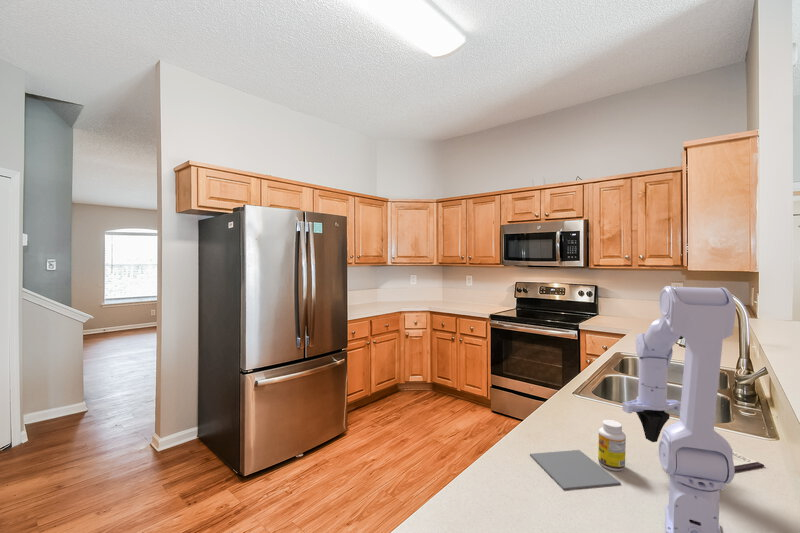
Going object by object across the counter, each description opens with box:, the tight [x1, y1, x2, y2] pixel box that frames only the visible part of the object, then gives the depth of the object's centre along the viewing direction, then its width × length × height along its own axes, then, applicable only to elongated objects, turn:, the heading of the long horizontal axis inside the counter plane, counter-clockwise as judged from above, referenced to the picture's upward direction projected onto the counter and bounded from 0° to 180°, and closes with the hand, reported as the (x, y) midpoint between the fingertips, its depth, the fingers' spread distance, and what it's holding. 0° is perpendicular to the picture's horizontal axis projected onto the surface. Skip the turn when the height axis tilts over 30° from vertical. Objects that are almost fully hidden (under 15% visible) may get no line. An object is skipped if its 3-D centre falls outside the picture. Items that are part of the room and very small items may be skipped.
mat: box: [529, 449, 621, 491], centre depth 86 cm, size 14×14×1 cm
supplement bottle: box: [597, 419, 627, 472], centre depth 88 cm, size 6×6×10 cm
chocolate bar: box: [732, 450, 765, 473], centre depth 90 cm, size 9×1×18 cm
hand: (651, 440), depth 90 cm, fingers closed
